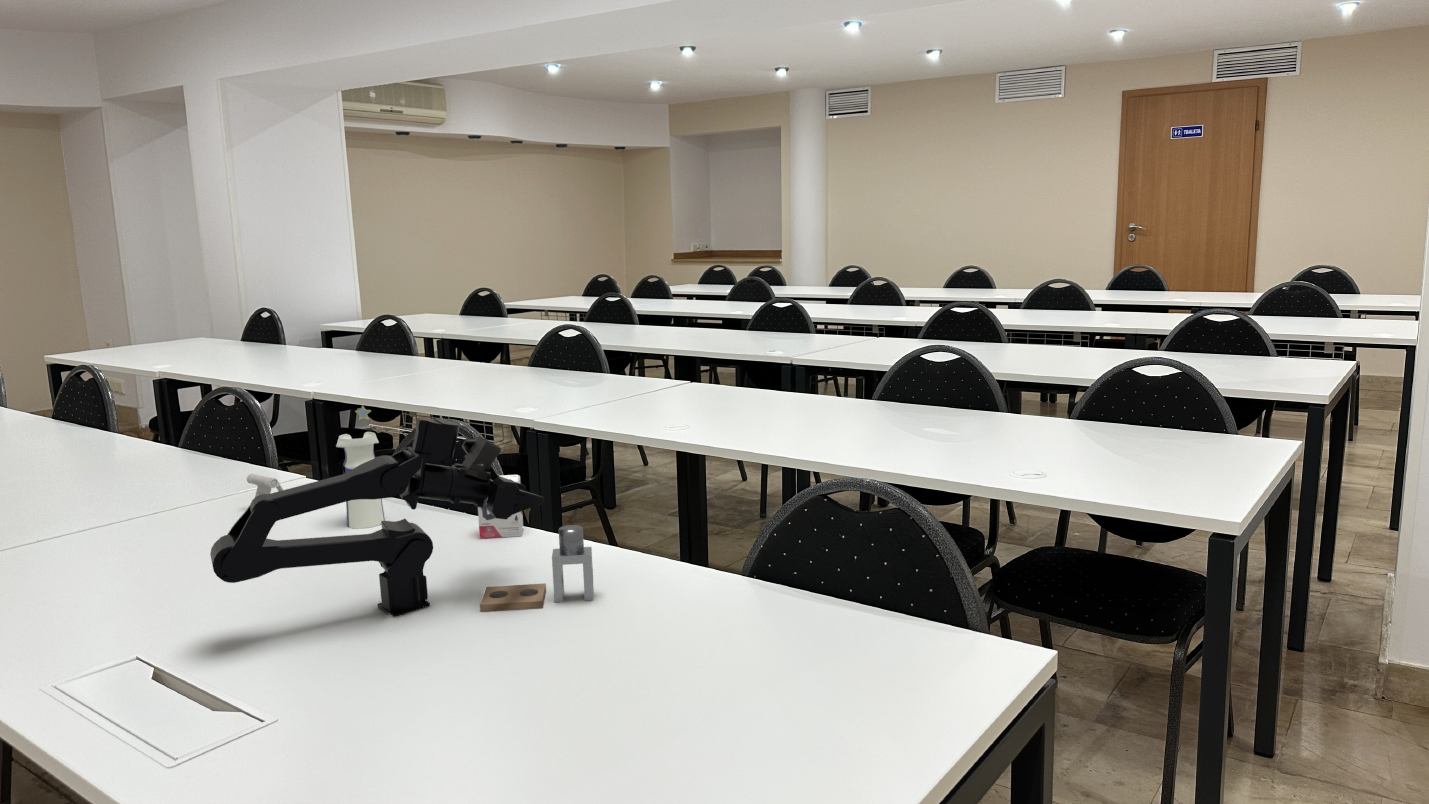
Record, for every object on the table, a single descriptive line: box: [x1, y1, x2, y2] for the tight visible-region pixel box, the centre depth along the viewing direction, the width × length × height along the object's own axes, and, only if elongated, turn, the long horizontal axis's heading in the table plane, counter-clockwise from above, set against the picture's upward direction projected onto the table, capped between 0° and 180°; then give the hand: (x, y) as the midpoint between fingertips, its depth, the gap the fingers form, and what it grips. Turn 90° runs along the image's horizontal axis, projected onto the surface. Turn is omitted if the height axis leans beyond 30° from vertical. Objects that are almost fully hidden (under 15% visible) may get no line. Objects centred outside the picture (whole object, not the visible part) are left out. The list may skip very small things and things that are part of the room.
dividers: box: [551, 524, 595, 604], centre depth 161 cm, size 6×4×12 cm, turn 96°
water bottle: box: [335, 405, 386, 530], centre depth 205 cm, size 8×9×25 cm
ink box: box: [477, 474, 524, 539], centre depth 196 cm, size 8×5×12 cm, turn 98°
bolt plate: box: [479, 583, 547, 613], centre depth 161 cm, size 10×8×1 cm
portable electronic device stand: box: [246, 473, 284, 498], centre depth 218 cm, size 9×8×8 cm
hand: (534, 494), depth 168 cm, fingers open, 9 cm apart
